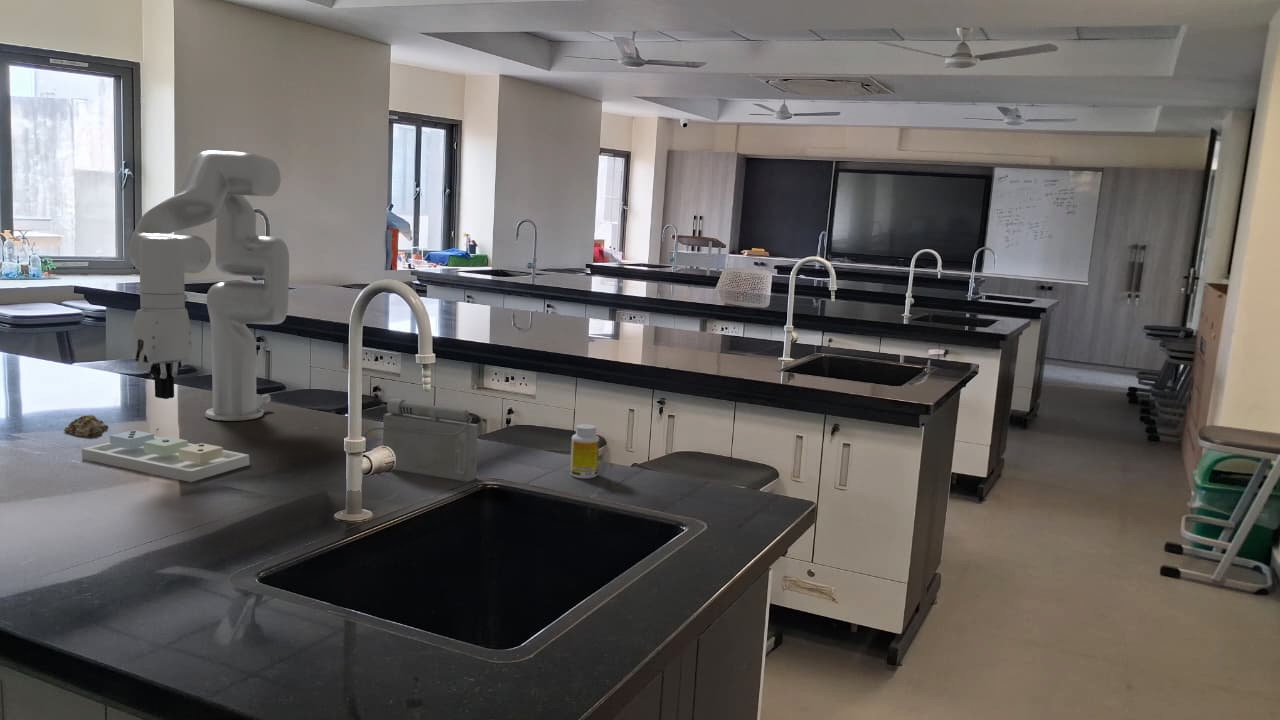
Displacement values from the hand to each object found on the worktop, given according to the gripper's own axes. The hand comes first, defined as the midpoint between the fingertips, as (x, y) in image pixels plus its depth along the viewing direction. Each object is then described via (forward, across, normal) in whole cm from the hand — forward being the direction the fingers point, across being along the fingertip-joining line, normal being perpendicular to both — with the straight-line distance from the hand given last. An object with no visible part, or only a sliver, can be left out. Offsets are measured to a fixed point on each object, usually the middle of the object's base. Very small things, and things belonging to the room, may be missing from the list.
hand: (164, 397), depth 182 cm
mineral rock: (+13, -8, -31) cm, 35 cm away
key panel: (+13, 0, 0) cm, 13 cm away
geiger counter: (+13, -21, +43) cm, 50 cm away
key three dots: (+11, 0, -9) cm, 14 cm away
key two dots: (+11, 0, +9) cm, 14 cm away
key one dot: (+11, 0, 0) cm, 11 cm away
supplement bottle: (+13, -37, +72) cm, 82 cm away
